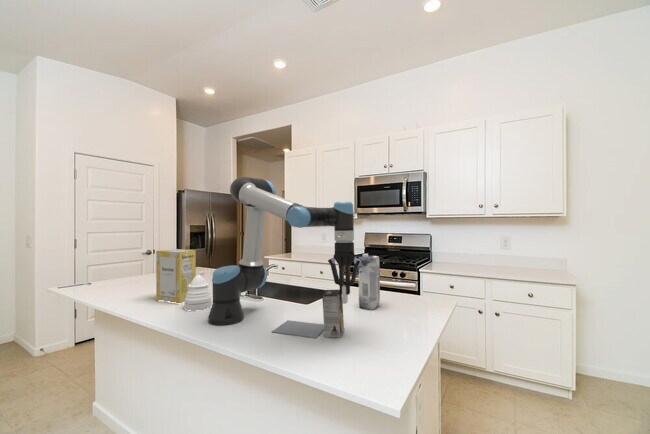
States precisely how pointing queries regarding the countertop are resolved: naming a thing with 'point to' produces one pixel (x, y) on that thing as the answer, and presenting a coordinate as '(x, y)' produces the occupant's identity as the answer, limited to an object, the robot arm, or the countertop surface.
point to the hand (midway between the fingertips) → (345, 302)
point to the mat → (300, 329)
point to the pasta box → (174, 274)
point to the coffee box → (333, 313)
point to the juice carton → (369, 282)
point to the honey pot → (198, 294)
